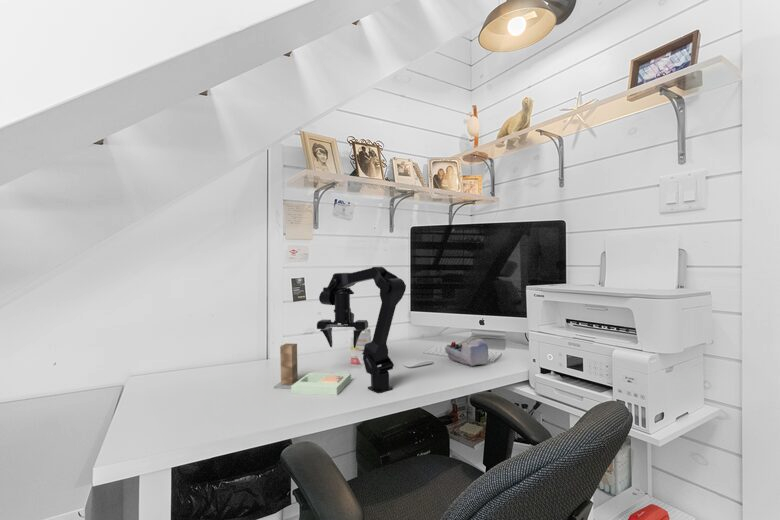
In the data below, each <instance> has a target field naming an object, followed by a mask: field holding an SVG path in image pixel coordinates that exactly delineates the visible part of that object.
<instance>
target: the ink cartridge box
mask: <svg viewBox="0 0 780 520" xmlns="http://www.w3.org/2000/svg"><path fill="white" fill-rule="evenodd" d="M354 330H356V329H355V328H353V329H352V336H351V337H350V364H351V365H365V364H364V361H363V355H364V354H362V353H363V352H364V346H365V344H366V343H370V342H372V334H371V332H372V331H371V330H372V329H371V328H367V329H365V330H364V331H363V332H361V333H360V335H359V338H358V341H357V344H356V347H355V348H354V345H353V340H354Z"/></svg>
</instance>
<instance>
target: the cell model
mask: <svg viewBox="0 0 780 520" xmlns="http://www.w3.org/2000/svg"><path fill="white" fill-rule="evenodd" d="M445 353H446V354H447V356H448V359H449V360H450V361H453V362H455V363H461V364H462V365H465V366H470V367H473V366H478V365H481V366H482V365H487V364H488V359H489V348H488V344H487V343H486V342H485V341H484V339H482V338H476V339H474V340H471V341H465V342H462V343H461V342H459V343H456V342H455V341H453V342H451V343H450V344H446V346H445Z"/></svg>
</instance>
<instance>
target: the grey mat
mask: <svg viewBox="0 0 780 520" xmlns="http://www.w3.org/2000/svg"><path fill="white" fill-rule="evenodd" d="M299 380H300V379H298V381H299ZM278 388H282V389H283V390H291V386H289V385H281V381H280V382H279V383H277V384H276V385H274V386H273V389H278ZM282 389H281V390H282Z"/></svg>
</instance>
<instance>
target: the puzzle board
mask: <svg viewBox="0 0 780 520" xmlns="http://www.w3.org/2000/svg"><path fill="white" fill-rule="evenodd" d="M298 380H299V381H297V382H296V383H294V384H293V385H292V386H291V389H290V392H291V394H300V395H301V394H302V395H323V396H324V395H325V396H338V395H339V394H340V393H341V391H343V389H344V388H345V387H346V386H347V385H349V383H350V382H351V381H352V373H340V372H339V373H338V372H336V373H335V372H334V373H333V372H309V373H307V374H305V375H304V376H303V377H301V378H300V379H298Z"/></svg>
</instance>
